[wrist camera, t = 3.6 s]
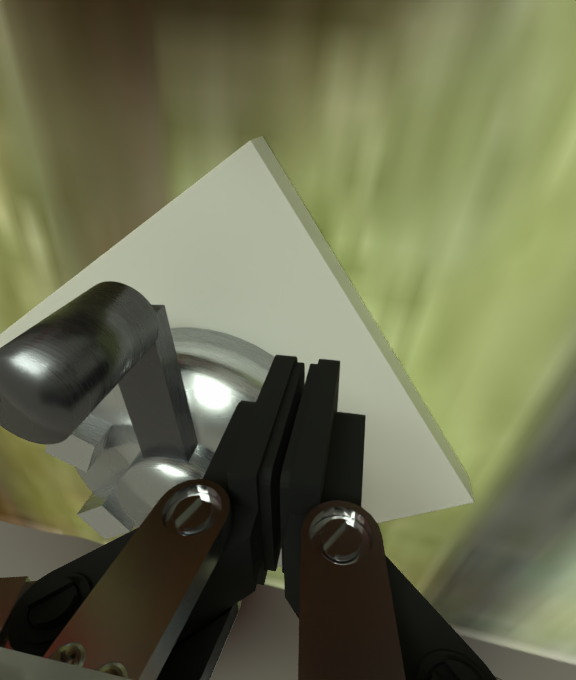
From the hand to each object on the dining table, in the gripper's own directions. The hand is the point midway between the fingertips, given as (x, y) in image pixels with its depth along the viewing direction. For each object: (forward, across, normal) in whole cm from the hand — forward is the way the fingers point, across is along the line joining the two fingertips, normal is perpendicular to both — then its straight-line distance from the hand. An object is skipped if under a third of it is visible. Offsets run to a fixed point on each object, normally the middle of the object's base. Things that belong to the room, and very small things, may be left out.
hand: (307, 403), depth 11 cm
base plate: (+7, +5, +7) cm, 11 cm away
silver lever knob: (+5, +6, +5) cm, 9 cm away
